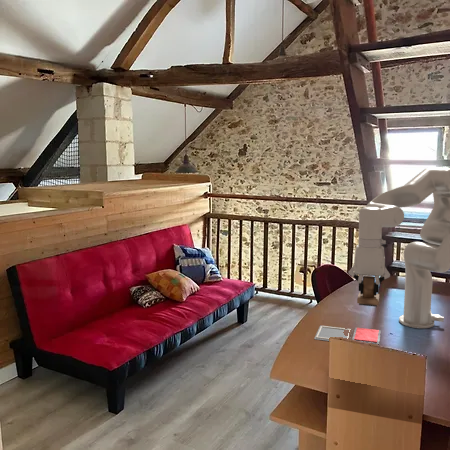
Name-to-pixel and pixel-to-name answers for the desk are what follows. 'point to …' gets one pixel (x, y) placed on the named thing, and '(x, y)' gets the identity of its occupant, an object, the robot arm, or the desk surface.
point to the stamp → (368, 293)
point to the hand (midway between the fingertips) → (368, 293)
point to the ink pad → (367, 335)
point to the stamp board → (330, 333)
